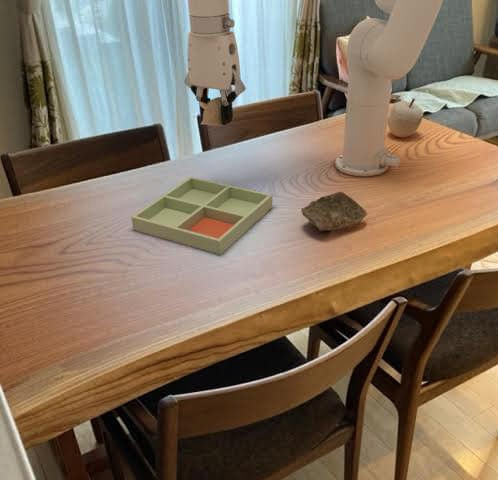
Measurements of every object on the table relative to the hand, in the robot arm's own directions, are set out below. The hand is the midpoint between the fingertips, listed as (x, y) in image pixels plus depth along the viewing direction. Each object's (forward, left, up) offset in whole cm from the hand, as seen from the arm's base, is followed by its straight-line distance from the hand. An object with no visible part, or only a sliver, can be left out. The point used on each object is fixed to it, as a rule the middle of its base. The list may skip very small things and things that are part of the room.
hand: (216, 120), depth 114 cm
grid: (-4, +13, -16) cm, 21 cm away
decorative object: (-27, -49, -16) cm, 58 cm away
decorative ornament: (0, 0, -1) cm, 1 cm away
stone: (-29, +4, -16) cm, 33 cm away
